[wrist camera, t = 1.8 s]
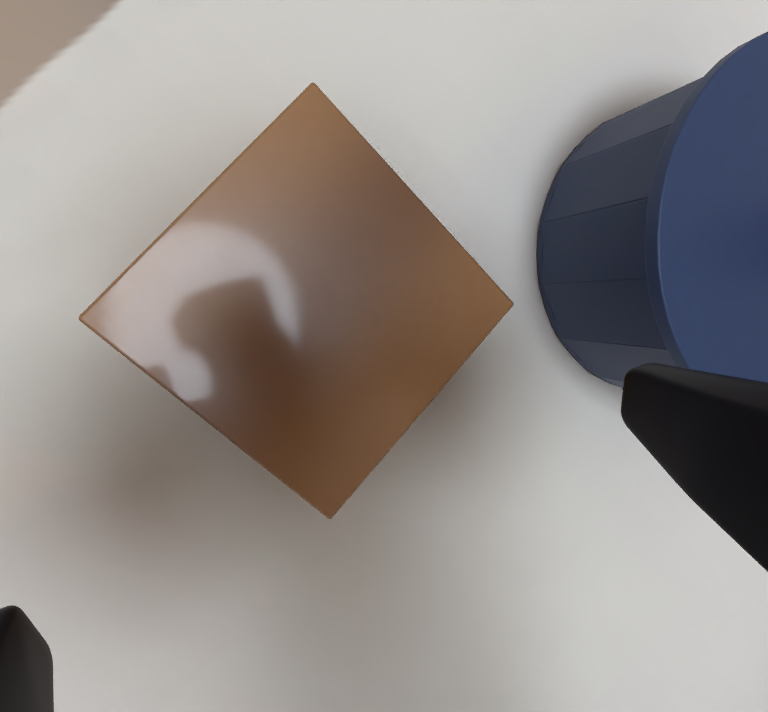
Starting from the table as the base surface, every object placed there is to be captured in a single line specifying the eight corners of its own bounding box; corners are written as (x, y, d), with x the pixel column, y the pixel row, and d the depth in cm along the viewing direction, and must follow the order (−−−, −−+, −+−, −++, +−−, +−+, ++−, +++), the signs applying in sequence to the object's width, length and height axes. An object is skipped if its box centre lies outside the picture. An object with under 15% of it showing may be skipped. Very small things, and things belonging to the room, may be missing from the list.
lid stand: (460, 303, 24) (515, 304, 19) (308, 479, 22) (330, 520, 18) (292, 125, 21) (313, 80, 17) (106, 314, 20) (76, 318, 15)
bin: (796, 253, 29) (966, 239, 23) (650, 443, 28) (788, 488, 21) (661, 49, 26) (818, -40, 19) (480, 254, 24) (584, 236, 17)
